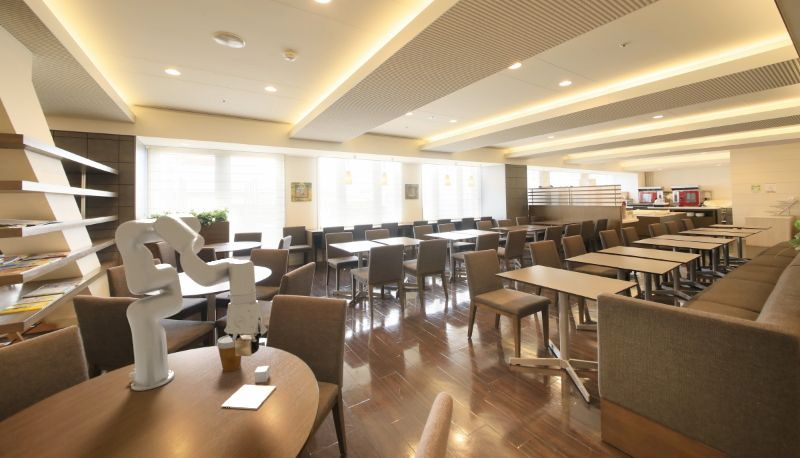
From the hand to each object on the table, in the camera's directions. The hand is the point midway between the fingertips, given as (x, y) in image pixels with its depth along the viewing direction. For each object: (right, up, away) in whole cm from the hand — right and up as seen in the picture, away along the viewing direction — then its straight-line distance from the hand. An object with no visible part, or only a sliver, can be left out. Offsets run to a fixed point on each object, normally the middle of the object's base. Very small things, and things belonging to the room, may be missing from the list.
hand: (247, 351), depth 107 cm
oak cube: (0, -1, 0) cm, 1 cm away
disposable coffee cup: (-16, -15, +21) cm, 31 cm away
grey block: (0, -15, +12) cm, 19 cm away
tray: (+1, -16, +1) cm, 16 cm away
